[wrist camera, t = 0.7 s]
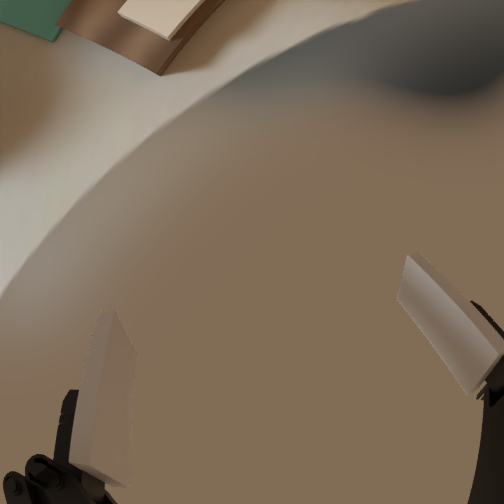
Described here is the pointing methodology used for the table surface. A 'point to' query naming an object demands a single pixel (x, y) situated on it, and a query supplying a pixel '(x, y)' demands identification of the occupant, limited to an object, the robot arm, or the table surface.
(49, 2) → the mat
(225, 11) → the table surface
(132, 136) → the table surface
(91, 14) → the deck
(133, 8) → the tile
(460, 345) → the robot arm
